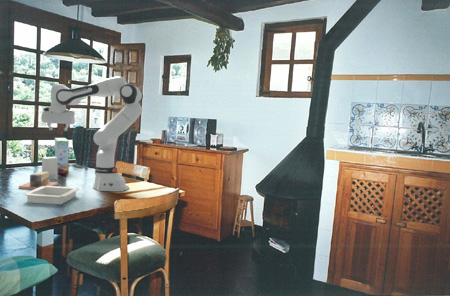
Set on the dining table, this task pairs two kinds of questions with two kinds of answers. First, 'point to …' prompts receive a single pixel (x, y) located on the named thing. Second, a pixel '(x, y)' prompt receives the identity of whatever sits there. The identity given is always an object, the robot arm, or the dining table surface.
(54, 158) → the skincare box
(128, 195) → the dining table surface
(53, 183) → the terracotta tile
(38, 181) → the box
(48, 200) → the white square tray
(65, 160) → the snack box
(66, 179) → the dining table surface
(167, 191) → the dining table surface
